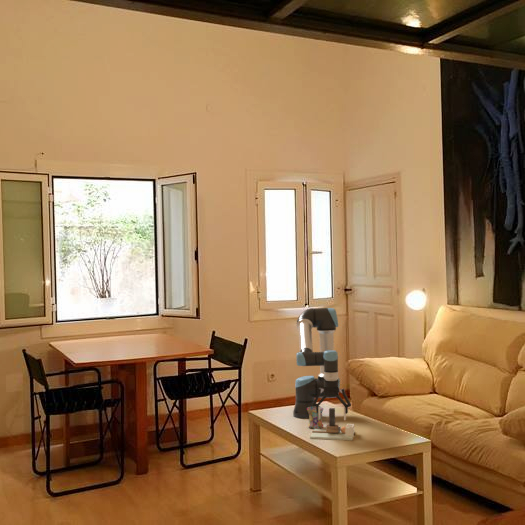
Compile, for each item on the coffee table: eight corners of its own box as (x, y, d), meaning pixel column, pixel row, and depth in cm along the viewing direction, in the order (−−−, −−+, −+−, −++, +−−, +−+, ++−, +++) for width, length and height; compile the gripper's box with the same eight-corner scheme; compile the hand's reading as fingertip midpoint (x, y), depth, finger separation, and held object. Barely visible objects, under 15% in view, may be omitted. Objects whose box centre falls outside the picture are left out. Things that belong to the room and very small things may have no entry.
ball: (341, 425, 331) (348, 426, 330) (340, 431, 331) (347, 433, 330) (340, 426, 328) (347, 428, 327) (339, 433, 328) (346, 434, 327)
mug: (326, 428, 343) (326, 409, 343) (310, 430, 341) (310, 410, 341) (318, 423, 355) (317, 404, 355) (303, 424, 352) (302, 406, 352)
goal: (346, 431, 333) (346, 423, 333) (354, 431, 332) (354, 424, 332) (345, 435, 325) (345, 427, 325) (353, 435, 324) (352, 428, 324)
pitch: (314, 430, 340) (314, 427, 340) (354, 431, 335) (354, 428, 335) (310, 438, 324) (310, 435, 324) (352, 440, 319) (352, 437, 319)
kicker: (327, 429, 334) (326, 407, 334) (340, 430, 332) (340, 407, 332) (326, 432, 329) (325, 409, 329) (339, 432, 327) (339, 410, 327)
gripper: (307, 380, 330) (308, 420, 330) (354, 381, 324) (355, 421, 324) (309, 377, 337) (310, 416, 337) (355, 378, 331) (356, 418, 331)
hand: (332, 419), depth 331 cm, fingers open, 13 cm apart
